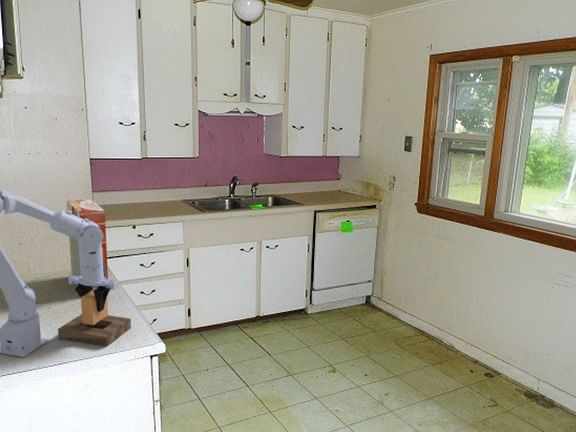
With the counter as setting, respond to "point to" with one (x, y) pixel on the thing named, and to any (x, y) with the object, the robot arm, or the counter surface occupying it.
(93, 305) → the keyed peg
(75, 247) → the cereal box
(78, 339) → the keyed socket
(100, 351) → the counter surface
